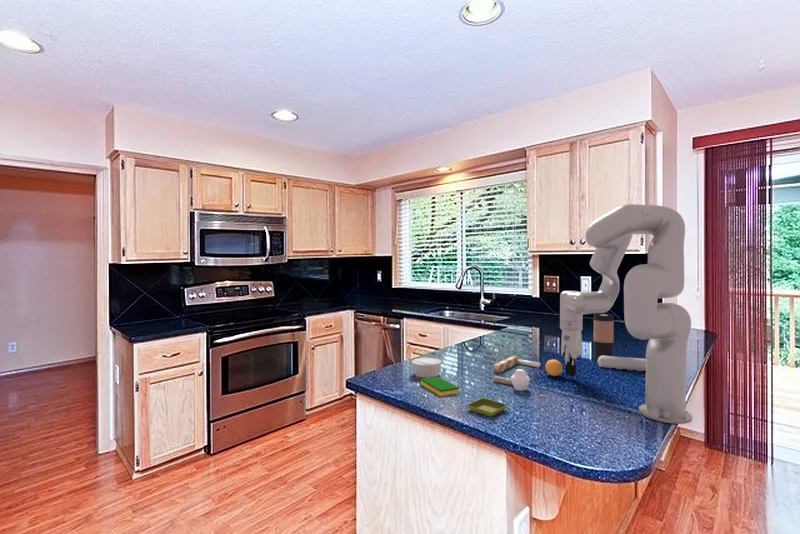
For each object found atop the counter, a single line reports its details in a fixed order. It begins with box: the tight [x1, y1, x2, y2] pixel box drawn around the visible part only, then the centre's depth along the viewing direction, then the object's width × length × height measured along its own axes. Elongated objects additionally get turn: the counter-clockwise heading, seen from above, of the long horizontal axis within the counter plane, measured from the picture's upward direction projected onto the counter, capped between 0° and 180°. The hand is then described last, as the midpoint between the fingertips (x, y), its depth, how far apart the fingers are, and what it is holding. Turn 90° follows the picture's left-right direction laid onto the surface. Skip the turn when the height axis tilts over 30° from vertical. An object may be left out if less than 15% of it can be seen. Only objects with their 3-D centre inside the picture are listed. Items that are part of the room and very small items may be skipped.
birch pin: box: [493, 375, 513, 386], centre depth 145 cm, size 2×2×9 cm
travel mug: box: [593, 312, 615, 363], centre depth 175 cm, size 8×8×20 cm
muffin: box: [510, 368, 531, 392], centre depth 139 cm, size 6×6×7 cm
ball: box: [544, 359, 563, 377], centre depth 154 cm, size 6×6×6 cm
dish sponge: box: [420, 376, 460, 397], centre depth 140 cm, size 7×14×2 cm, turn 25°
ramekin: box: [411, 357, 442, 379], centre depth 157 cm, size 11×11×5 cm
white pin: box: [516, 358, 541, 369], centre depth 169 cm, size 2×2×9 cm
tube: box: [596, 355, 646, 372], centre depth 162 cm, size 5×5×25 cm
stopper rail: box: [493, 355, 519, 374], centre depth 165 cm, size 18×2×3 cm, turn 141°
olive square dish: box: [466, 397, 508, 417], centre depth 120 cm, size 9×9×2 cm
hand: (570, 375), depth 150 cm, fingers closed
